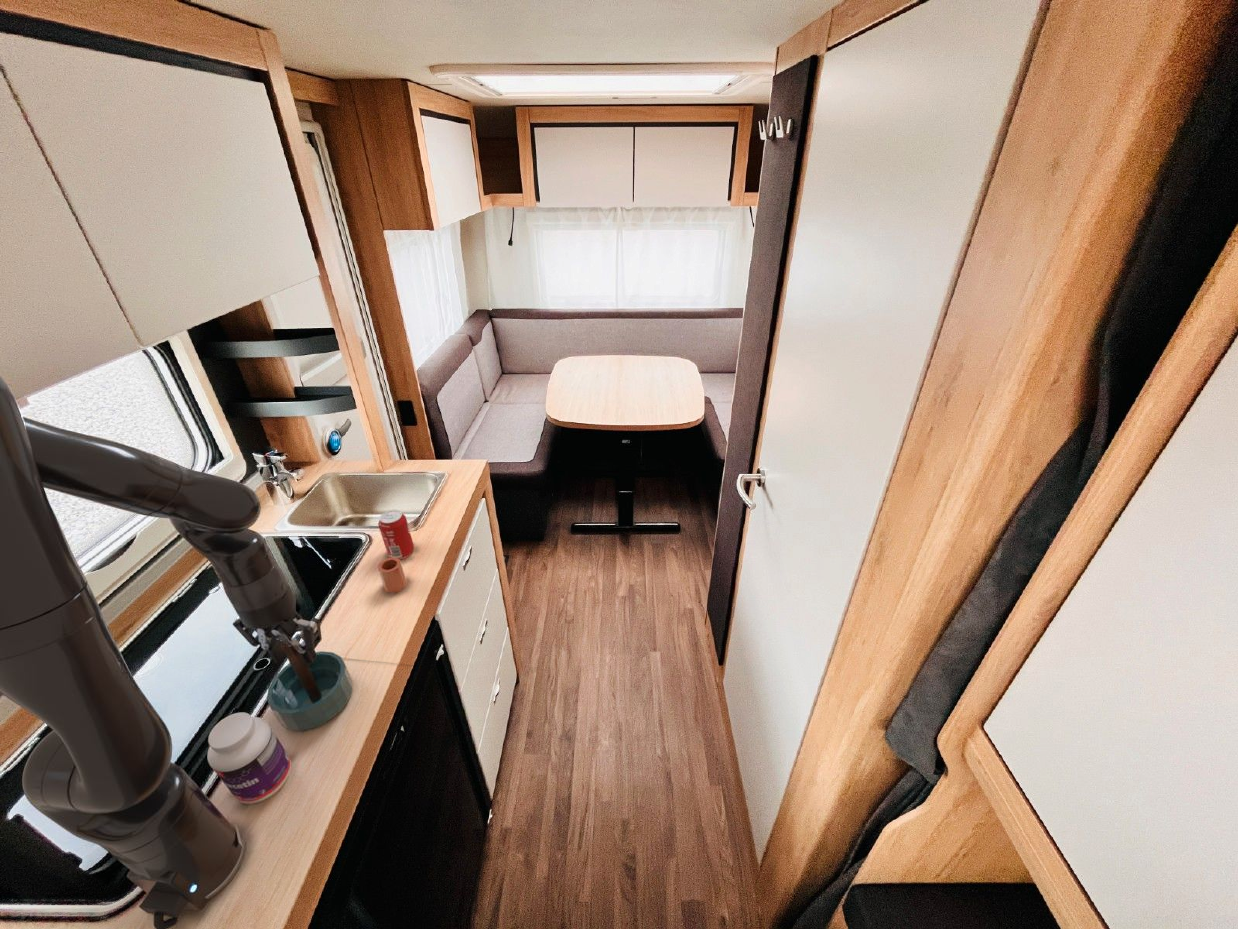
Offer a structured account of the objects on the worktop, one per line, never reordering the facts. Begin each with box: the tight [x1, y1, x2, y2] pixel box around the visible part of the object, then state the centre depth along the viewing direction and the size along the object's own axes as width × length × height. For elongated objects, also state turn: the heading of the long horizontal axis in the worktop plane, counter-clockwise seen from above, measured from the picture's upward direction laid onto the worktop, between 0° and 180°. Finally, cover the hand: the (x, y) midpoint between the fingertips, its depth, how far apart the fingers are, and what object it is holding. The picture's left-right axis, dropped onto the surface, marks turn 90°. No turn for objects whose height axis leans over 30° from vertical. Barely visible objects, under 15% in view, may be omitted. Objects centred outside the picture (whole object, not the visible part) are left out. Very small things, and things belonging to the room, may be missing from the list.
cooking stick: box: [280, 636, 322, 702], centre depth 90 cm, size 2×2×16 cm
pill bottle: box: [206, 711, 292, 805], centre depth 79 cm, size 8×8×14 cm
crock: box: [377, 557, 408, 594], centre depth 117 cm, size 5×5×7 cm
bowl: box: [266, 651, 354, 732], centre depth 93 cm, size 12×13×6 cm
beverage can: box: [377, 509, 415, 560], centre depth 125 cm, size 6×6×12 cm
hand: (296, 660), depth 88 cm, fingers open, 5 cm apart
